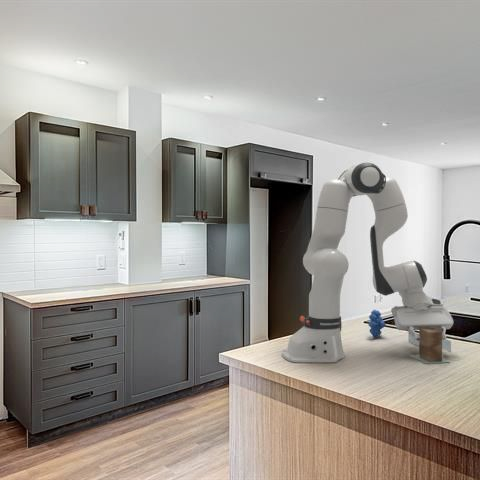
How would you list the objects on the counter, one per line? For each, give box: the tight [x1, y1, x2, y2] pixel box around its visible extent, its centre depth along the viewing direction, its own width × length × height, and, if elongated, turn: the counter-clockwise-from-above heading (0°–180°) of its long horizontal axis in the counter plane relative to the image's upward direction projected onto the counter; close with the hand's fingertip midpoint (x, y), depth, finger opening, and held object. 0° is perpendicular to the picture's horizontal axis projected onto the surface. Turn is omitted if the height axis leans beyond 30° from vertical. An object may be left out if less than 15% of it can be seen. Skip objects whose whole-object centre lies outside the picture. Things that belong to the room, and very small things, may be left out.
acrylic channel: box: [407, 332, 452, 352], centre depth 169 cm, size 8×16×4 cm, turn 9°
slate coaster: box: [410, 354, 451, 365], centre depth 151 cm, size 9×9×1 cm
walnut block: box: [418, 328, 443, 362], centre depth 151 cm, size 5×6×10 cm
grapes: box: [368, 309, 387, 339], centre depth 182 cm, size 12×7×12 cm, turn 143°
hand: (430, 339), depth 150 cm, fingers open, 8 cm apart
